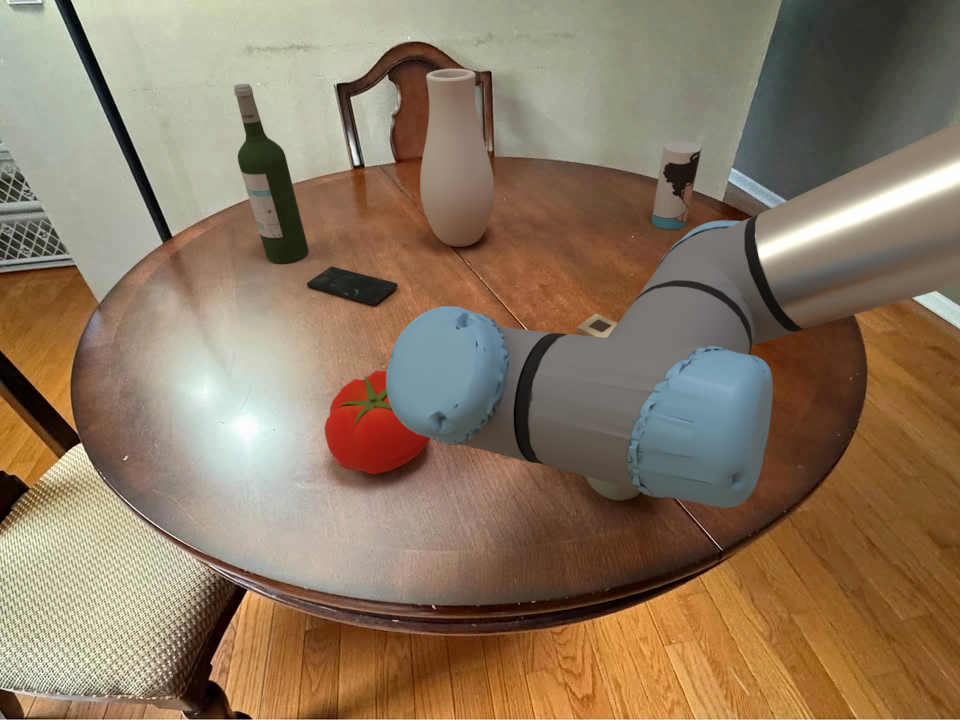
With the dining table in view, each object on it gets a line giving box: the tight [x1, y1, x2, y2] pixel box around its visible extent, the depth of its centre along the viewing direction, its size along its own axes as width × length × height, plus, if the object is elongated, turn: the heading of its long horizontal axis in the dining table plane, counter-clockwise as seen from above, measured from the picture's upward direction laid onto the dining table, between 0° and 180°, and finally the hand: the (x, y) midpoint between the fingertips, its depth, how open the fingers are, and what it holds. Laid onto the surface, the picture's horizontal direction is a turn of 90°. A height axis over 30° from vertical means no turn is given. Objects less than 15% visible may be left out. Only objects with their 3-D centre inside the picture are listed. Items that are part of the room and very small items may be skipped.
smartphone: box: [306, 266, 399, 306], centre depth 96 cm, size 7×1×15 cm
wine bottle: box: [233, 83, 309, 265], centre depth 98 cm, size 8×8×30 cm
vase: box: [419, 68, 495, 248], centre depth 100 cm, size 14×14×30 cm
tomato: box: [324, 370, 431, 475], centre depth 64 cm, size 13×12×8 cm
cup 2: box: [651, 140, 702, 230], centre depth 109 cm, size 7×7×15 cm
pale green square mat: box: [575, 313, 618, 338], centre depth 79 cm, size 22×10×1 cm, turn 45°
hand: (635, 443), depth 61 cm, fingers closed on cup 1, 8 cm apart
